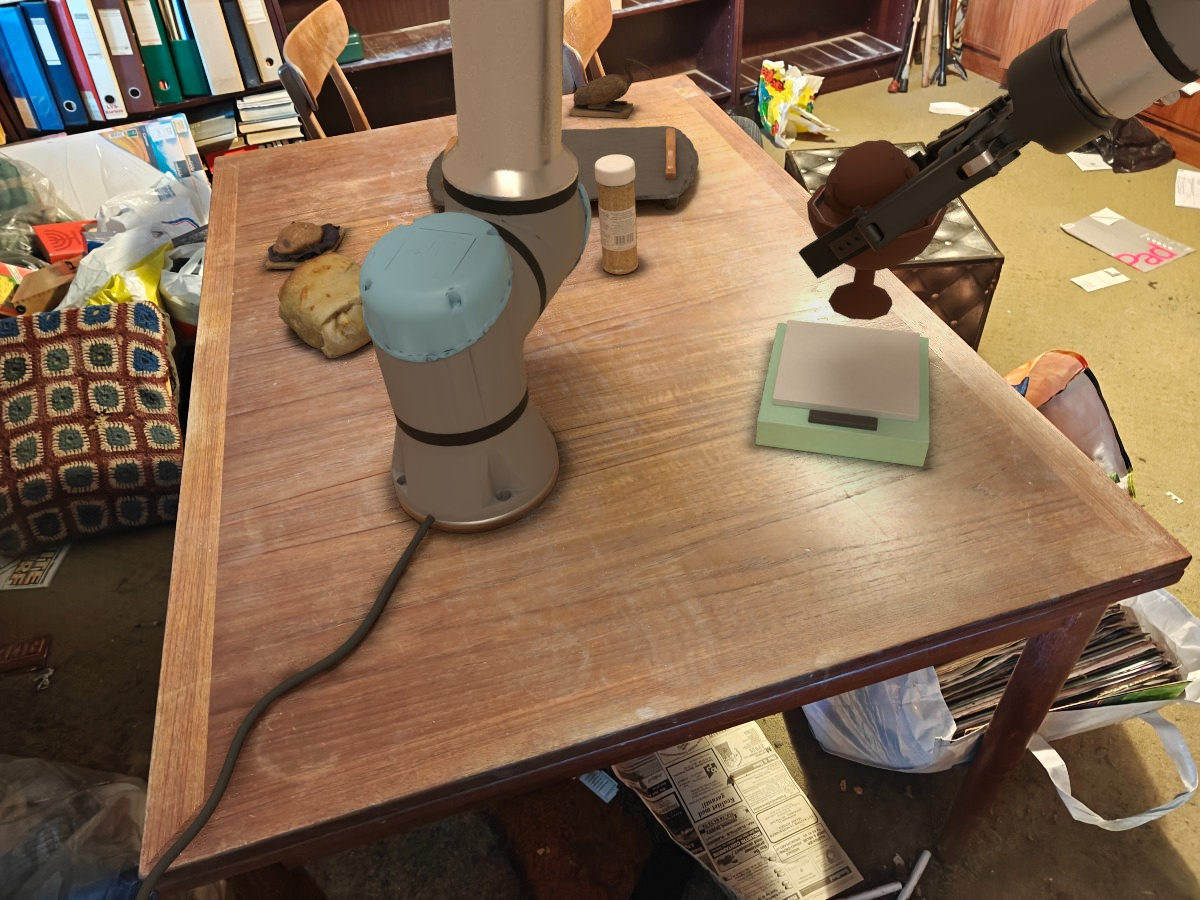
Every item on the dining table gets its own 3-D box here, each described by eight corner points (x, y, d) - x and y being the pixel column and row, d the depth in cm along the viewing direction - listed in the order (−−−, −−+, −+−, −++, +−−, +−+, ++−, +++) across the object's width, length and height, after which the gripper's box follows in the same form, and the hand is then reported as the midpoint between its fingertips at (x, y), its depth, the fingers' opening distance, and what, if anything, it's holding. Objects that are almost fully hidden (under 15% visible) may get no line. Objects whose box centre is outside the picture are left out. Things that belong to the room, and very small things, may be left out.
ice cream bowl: (930, 341, 72) (971, 170, 61) (794, 333, 74) (812, 166, 64) (921, 274, 79) (956, 112, 69) (798, 268, 81) (815, 110, 71)
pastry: (302, 294, 105) (282, 235, 99) (403, 289, 104) (388, 229, 99) (271, 364, 94) (246, 302, 89) (383, 358, 94) (365, 295, 89)
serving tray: (416, 223, 117) (406, 180, 112) (447, 151, 134) (440, 111, 129) (700, 215, 113) (701, 170, 109) (696, 142, 130) (697, 101, 126)
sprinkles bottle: (637, 255, 107) (633, 151, 98) (639, 274, 103) (636, 168, 94) (600, 258, 107) (593, 154, 98) (602, 277, 104) (594, 171, 94)
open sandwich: (322, 273, 109) (313, 247, 106) (260, 271, 110) (250, 245, 107) (351, 231, 116) (344, 206, 114) (293, 230, 117) (285, 205, 115)
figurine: (658, 109, 141) (657, 54, 135) (652, 120, 138) (651, 64, 132) (577, 105, 144) (573, 51, 138) (569, 116, 141) (565, 61, 135)
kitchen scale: (922, 467, 77) (931, 435, 74) (755, 444, 80) (757, 413, 78) (922, 361, 88) (930, 330, 85) (775, 345, 91) (778, 315, 89)
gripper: (1078, 193, 50) (805, 335, 67) (1158, 64, 63) (913, 210, 81) (1007, 86, 49) (748, 259, 66) (1104, -23, 62) (868, 145, 80)
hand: (839, 232), depth 73 cm, fingers closed on ice cream bowl, 11 cm apart
